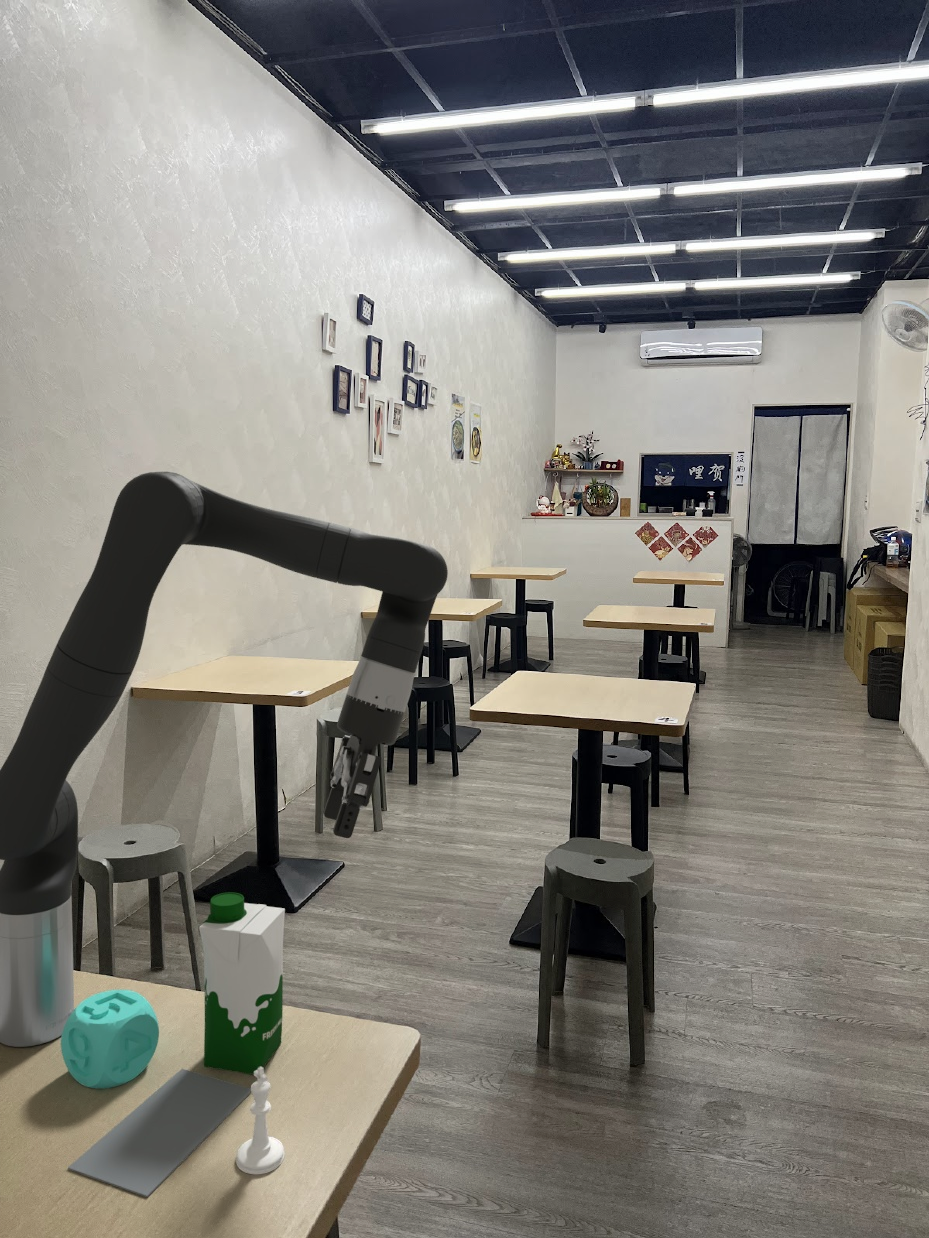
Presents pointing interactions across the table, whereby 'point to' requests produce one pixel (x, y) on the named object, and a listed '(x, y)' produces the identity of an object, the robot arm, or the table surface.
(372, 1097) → the table surface
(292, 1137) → the table surface
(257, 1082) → the chess piece
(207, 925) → the soya milk
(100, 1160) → the mat
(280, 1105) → the table surface
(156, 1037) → the decorative dice
